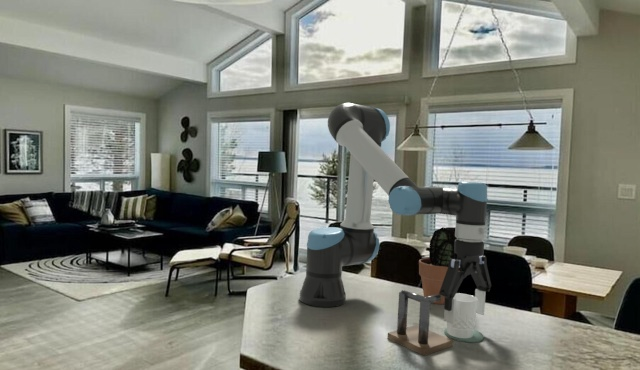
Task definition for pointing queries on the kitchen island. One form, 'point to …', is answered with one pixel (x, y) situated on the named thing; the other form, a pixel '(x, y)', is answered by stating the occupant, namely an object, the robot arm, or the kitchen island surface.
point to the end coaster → (475, 338)
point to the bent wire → (422, 318)
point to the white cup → (463, 316)
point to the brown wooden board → (411, 342)
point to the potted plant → (437, 263)
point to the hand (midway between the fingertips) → (464, 317)
